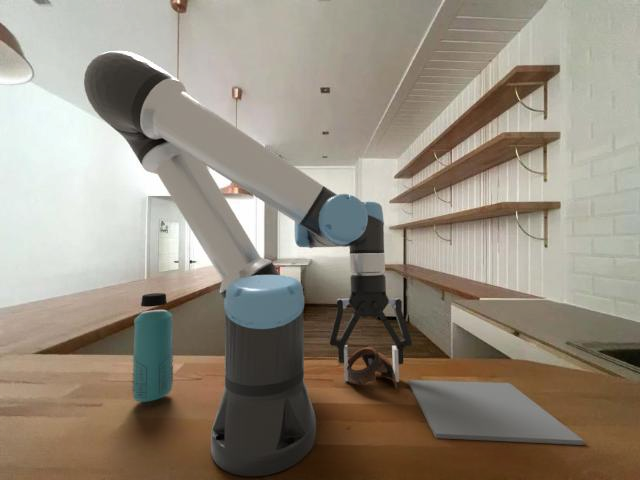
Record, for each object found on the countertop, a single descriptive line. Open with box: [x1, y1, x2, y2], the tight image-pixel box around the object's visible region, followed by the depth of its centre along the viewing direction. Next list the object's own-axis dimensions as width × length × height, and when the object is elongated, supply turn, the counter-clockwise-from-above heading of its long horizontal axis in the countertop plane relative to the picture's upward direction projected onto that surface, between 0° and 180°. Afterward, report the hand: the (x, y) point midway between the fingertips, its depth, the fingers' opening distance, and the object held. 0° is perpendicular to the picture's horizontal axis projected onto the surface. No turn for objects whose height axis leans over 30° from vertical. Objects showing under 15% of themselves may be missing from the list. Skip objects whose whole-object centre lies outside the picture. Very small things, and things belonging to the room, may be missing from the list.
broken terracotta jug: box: [347, 345, 398, 389], centre depth 57 cm, size 12×10×8 cm
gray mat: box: [407, 379, 585, 446], centre depth 47 cm, size 20×17×1 cm
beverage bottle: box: [131, 292, 174, 403], centre depth 51 cm, size 6×7×20 cm
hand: (371, 378), depth 58 cm, fingers open, 10 cm apart
